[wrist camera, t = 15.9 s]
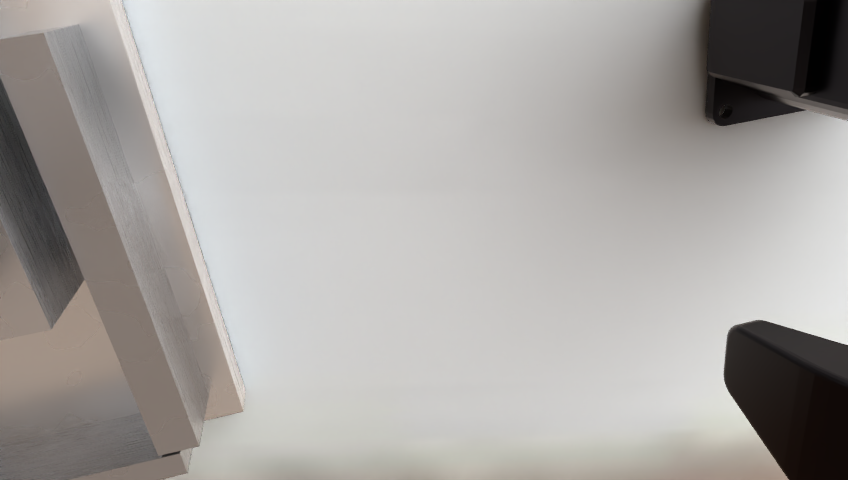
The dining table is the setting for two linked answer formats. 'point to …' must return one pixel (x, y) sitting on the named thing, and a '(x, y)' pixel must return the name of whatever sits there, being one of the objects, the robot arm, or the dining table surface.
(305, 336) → the dining table surface
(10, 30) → the press base
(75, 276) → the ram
